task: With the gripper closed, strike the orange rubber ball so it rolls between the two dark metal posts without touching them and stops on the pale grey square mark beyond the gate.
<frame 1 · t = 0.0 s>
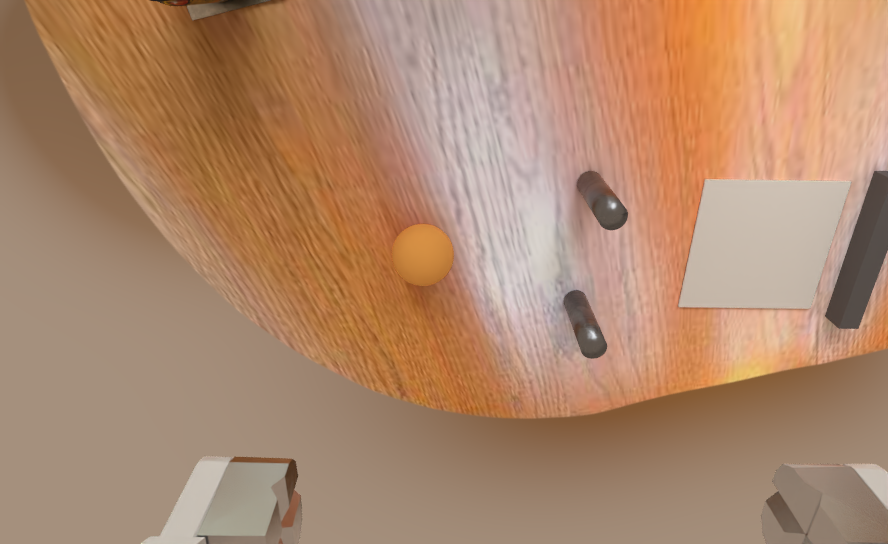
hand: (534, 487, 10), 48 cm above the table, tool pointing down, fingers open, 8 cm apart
post 2: (589, 183, 58), on the table
ball: (422, 254, 58), on the table
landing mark: (759, 246, 61), on the table
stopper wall: (858, 248, 61), on the table
post 1: (575, 300, 63), on the table
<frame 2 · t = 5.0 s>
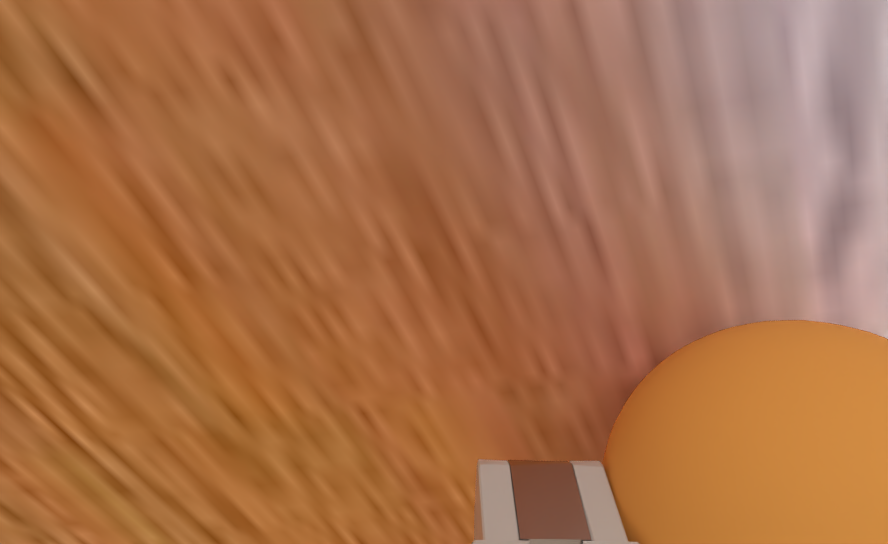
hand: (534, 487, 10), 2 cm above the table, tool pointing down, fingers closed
ball: (798, 512, 9), on the table, touching gripper
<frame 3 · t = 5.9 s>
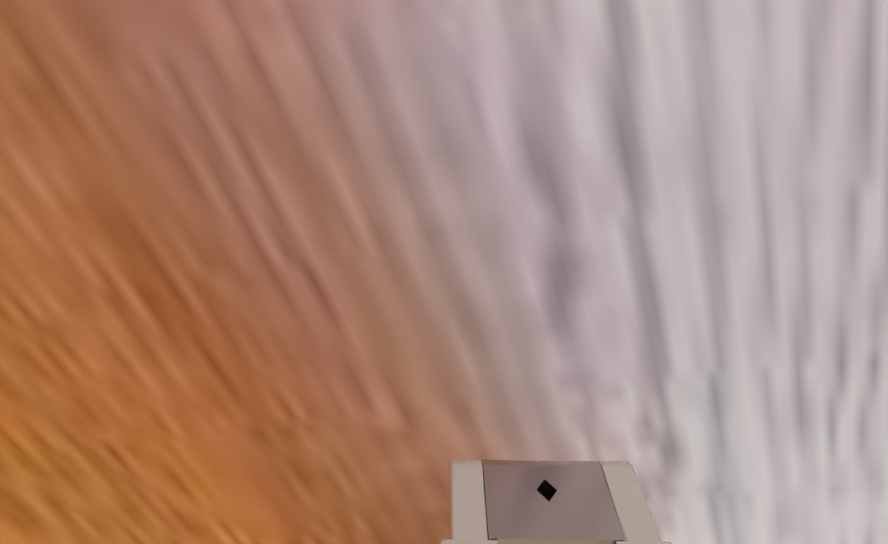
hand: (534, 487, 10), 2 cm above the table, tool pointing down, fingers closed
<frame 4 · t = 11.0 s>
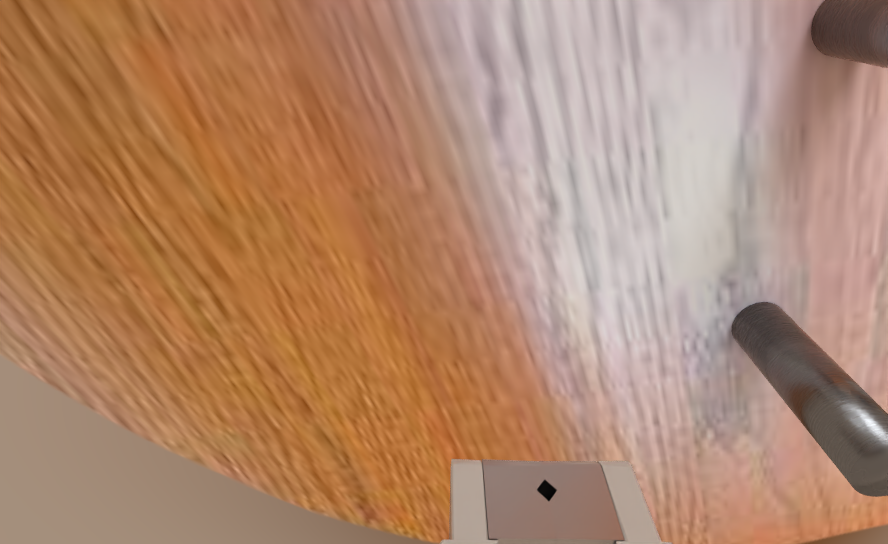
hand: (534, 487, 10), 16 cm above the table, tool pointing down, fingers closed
post 2: (845, 22, 22), on the table
post 1: (758, 325, 28), on the table
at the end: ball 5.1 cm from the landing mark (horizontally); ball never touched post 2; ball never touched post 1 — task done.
